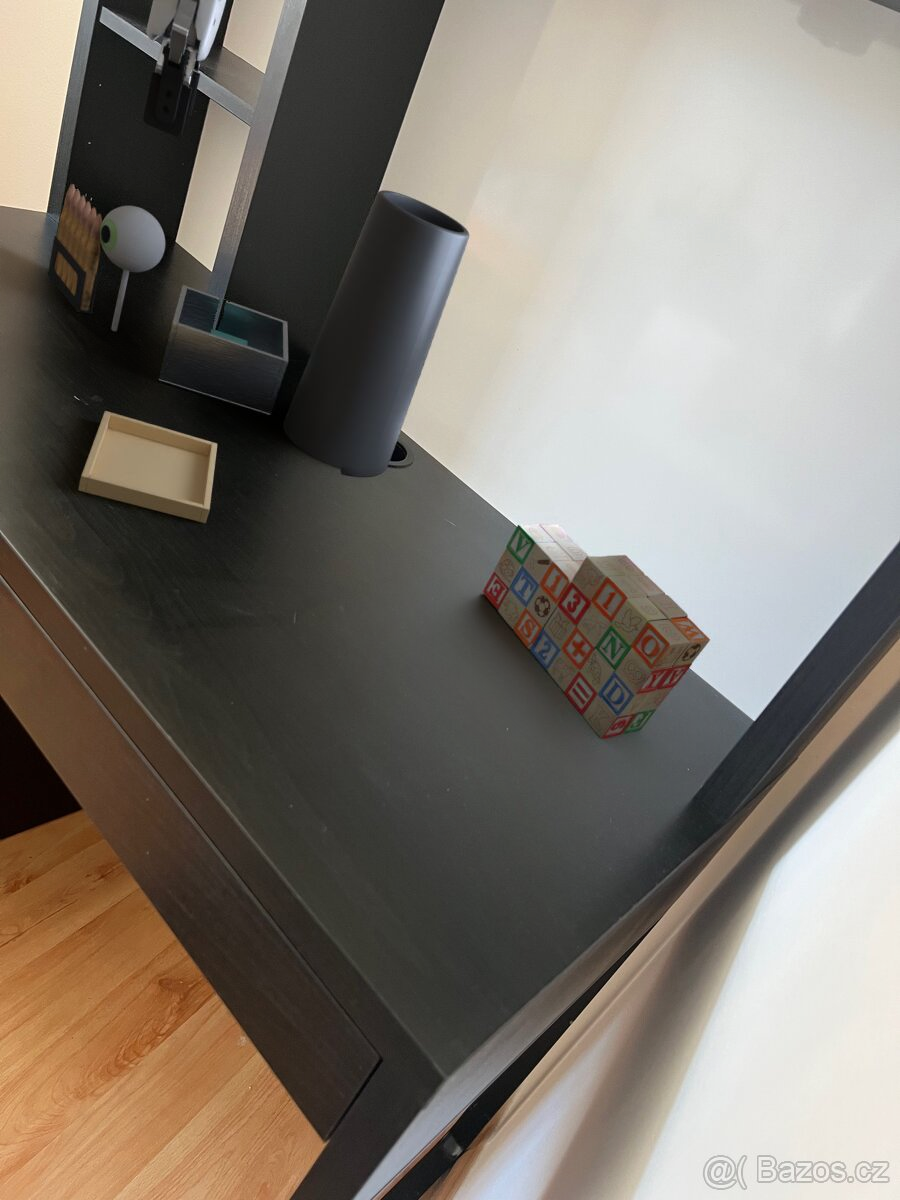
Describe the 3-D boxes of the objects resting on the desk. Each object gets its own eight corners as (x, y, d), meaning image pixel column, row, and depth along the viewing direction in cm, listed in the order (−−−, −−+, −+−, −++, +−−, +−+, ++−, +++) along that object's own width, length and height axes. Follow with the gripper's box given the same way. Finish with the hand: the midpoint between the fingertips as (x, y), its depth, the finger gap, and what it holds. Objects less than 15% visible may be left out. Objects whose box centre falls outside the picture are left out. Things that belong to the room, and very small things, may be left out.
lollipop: (71, 313, 103) (94, 189, 96) (125, 317, 109) (150, 200, 101) (102, 343, 100) (127, 217, 93) (155, 345, 106) (183, 227, 98)
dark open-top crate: (156, 385, 98) (172, 322, 94) (168, 342, 108) (182, 284, 104) (269, 419, 103) (288, 361, 99) (269, 376, 113) (287, 321, 109)
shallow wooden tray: (77, 495, 75) (81, 475, 74) (101, 428, 86) (105, 410, 85) (204, 527, 79) (209, 509, 78) (212, 460, 90) (217, 443, 89)
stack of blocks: (479, 592, 91) (530, 498, 84) (520, 590, 95) (572, 500, 89) (601, 740, 79) (672, 643, 72) (643, 731, 83) (713, 638, 77)
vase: (403, 458, 110) (498, 239, 95) (359, 489, 98) (459, 245, 83) (315, 407, 111) (395, 183, 96) (260, 431, 99) (342, 181, 84)
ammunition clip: (47, 273, 110) (62, 179, 103) (62, 275, 111) (77, 182, 105) (77, 312, 104) (94, 215, 98) (92, 314, 106) (110, 218, 99)
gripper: (178, -123, 73) (137, 88, 82) (155, -137, 60) (109, 118, 69) (263, -78, 76) (214, 122, 85) (260, -82, 63) (203, 157, 71)
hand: (167, 120), depth 77 cm, fingers open, 9 cm apart
